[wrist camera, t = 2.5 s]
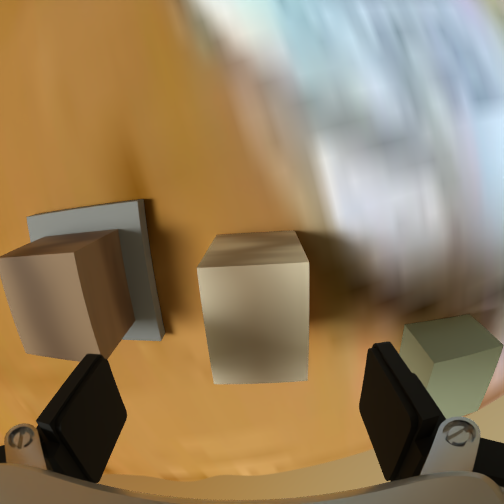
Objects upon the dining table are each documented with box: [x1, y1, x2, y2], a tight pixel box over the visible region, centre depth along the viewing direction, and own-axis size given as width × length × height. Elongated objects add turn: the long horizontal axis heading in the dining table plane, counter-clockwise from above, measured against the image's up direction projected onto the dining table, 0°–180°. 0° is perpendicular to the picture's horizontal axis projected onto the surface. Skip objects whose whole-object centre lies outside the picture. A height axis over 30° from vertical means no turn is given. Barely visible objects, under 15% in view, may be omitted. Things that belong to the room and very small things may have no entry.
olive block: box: [399, 314, 503, 419], centre depth 18 cm, size 6×6×5 cm
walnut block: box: [0, 229, 136, 362], centre depth 16 cm, size 6×6×5 cm
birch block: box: [197, 230, 309, 384], centre depth 16 cm, size 4×6×6 cm
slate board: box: [27, 199, 165, 341], centre depth 19 cm, size 9×9×1 cm
